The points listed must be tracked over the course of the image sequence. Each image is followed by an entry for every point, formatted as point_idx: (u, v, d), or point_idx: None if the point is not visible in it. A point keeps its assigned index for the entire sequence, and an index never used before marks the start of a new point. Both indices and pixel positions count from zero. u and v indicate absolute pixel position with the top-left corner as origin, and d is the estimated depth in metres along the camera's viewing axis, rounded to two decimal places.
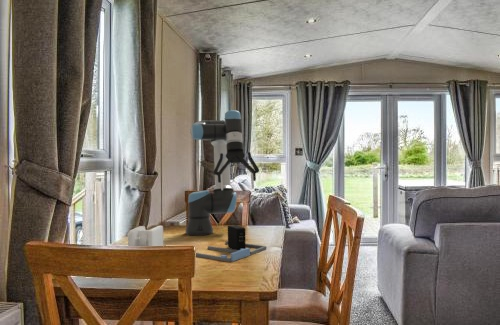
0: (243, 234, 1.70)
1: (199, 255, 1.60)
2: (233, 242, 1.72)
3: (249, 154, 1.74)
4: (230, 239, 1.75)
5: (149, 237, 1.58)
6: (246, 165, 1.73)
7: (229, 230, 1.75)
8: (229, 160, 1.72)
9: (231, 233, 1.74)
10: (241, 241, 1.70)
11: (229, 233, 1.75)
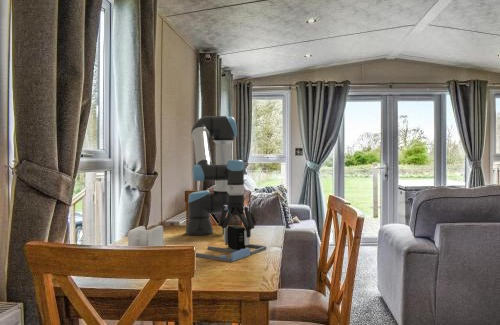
0: (243, 234, 1.70)
1: (199, 255, 1.60)
2: (233, 242, 1.72)
3: (245, 209, 1.69)
4: (230, 239, 1.75)
5: (149, 237, 1.58)
6: (241, 220, 1.71)
7: (229, 230, 1.75)
8: (229, 213, 1.74)
9: (231, 233, 1.74)
10: (241, 241, 1.70)
11: (229, 233, 1.75)
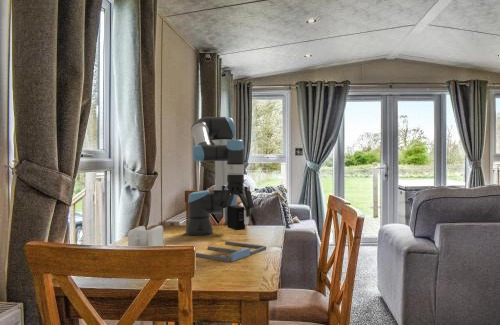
0: (243, 213, 1.70)
1: (199, 255, 1.60)
2: (232, 222, 1.72)
3: (245, 188, 1.70)
4: (229, 219, 1.75)
5: (149, 237, 1.58)
6: (241, 200, 1.71)
7: (229, 210, 1.76)
8: (228, 193, 1.74)
9: (231, 212, 1.74)
10: (241, 220, 1.70)
11: (229, 213, 1.76)
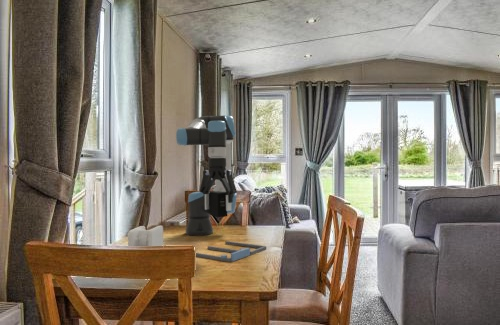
0: (225, 199, 1.59)
1: (199, 255, 1.60)
2: (214, 208, 1.61)
3: (227, 172, 1.59)
4: (211, 205, 1.64)
5: (149, 237, 1.58)
6: (223, 185, 1.60)
7: (210, 196, 1.65)
8: (210, 178, 1.63)
9: (212, 198, 1.63)
10: (222, 206, 1.59)
11: (210, 199, 1.65)
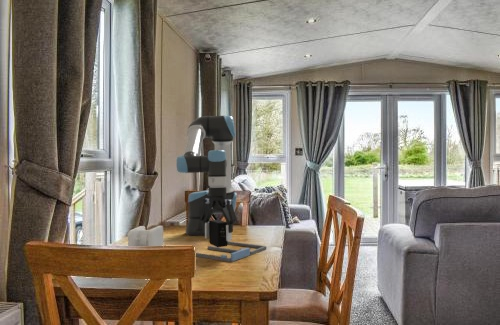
0: (225, 229, 1.59)
1: (199, 255, 1.60)
2: (214, 238, 1.61)
3: (227, 202, 1.59)
4: (211, 234, 1.64)
5: (149, 237, 1.58)
6: (223, 214, 1.60)
7: (210, 225, 1.65)
8: (210, 207, 1.63)
9: (212, 228, 1.63)
10: (223, 236, 1.59)
11: (210, 228, 1.65)
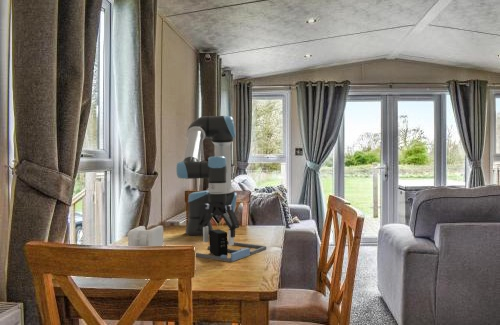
0: (225, 239, 1.59)
1: (199, 255, 1.60)
2: (214, 248, 1.61)
3: (227, 208, 1.59)
4: (211, 244, 1.64)
5: (149, 237, 1.58)
6: None
7: (211, 235, 1.65)
8: (209, 213, 1.63)
9: (212, 237, 1.63)
10: (223, 246, 1.59)
11: (211, 238, 1.65)
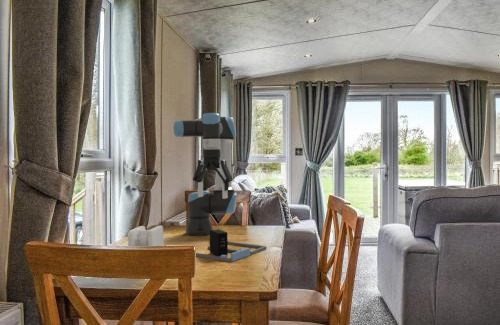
0: (225, 239, 1.59)
1: (199, 255, 1.60)
2: (214, 248, 1.61)
3: (221, 162, 1.65)
4: (211, 244, 1.64)
5: (149, 237, 1.58)
6: (218, 174, 1.66)
7: (211, 235, 1.65)
8: (204, 168, 1.69)
9: (213, 237, 1.63)
10: (223, 247, 1.59)
11: (211, 238, 1.65)
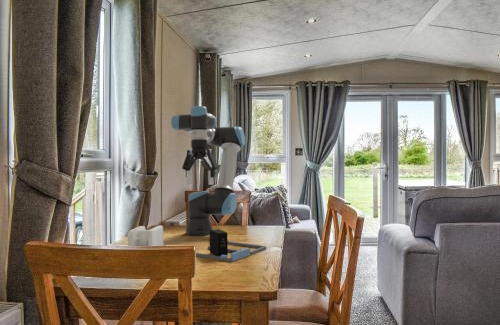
0: (225, 239, 1.59)
1: (199, 255, 1.60)
2: (214, 248, 1.61)
3: (208, 151, 1.78)
4: (211, 244, 1.64)
5: (149, 237, 1.58)
6: (205, 162, 1.79)
7: (211, 235, 1.65)
8: (192, 157, 1.83)
9: (213, 237, 1.63)
10: (223, 247, 1.59)
11: (211, 238, 1.65)
